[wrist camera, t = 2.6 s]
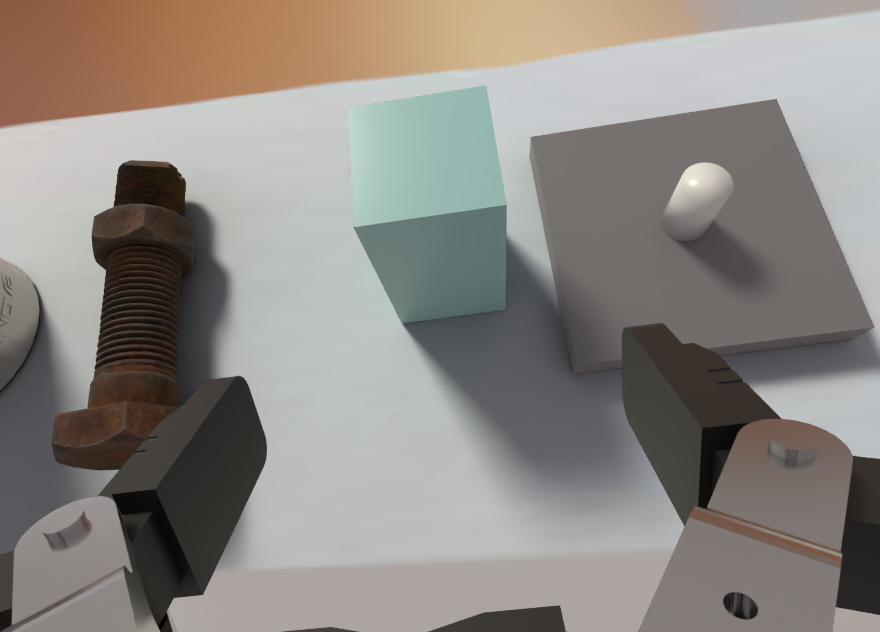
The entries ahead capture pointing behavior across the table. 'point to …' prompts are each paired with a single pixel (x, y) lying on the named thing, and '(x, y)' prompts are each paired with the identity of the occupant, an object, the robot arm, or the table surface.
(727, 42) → the table surface
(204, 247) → the table surface
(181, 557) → the robot arm
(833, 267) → the base plate
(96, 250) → the bolt
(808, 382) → the table surface
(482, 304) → the block
